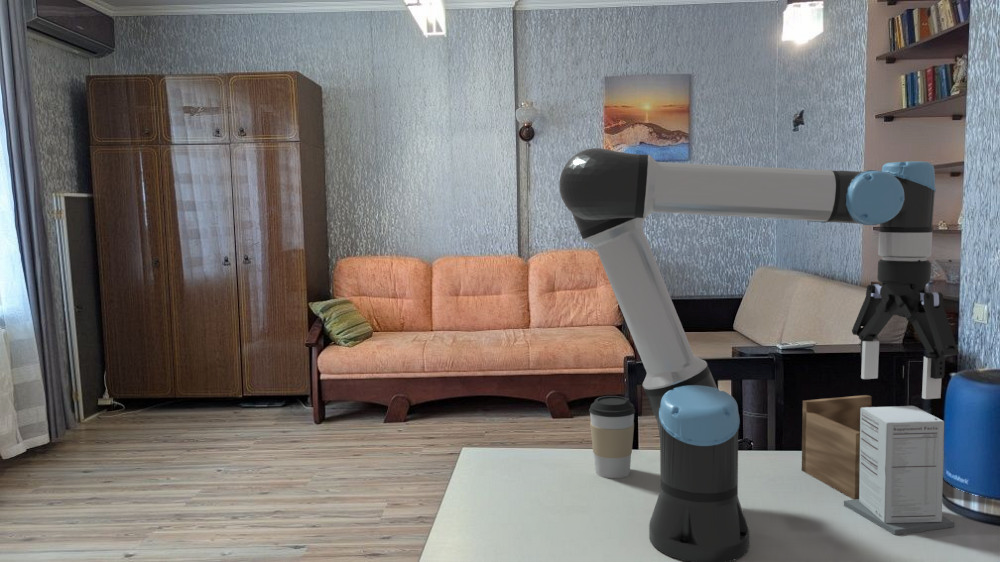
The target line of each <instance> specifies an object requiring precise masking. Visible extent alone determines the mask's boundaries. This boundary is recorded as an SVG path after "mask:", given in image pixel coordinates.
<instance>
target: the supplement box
mask: <svg viewBox="0 0 1000 562" xmlns="http://www.w3.org/2000/svg"><path fill="white" fill-rule="evenodd" d="M944 434H945V421H944V419H943V420H942V419H940V418H939V417H937V416H935V415H934V414H933V415H932V414H931V413H929V412H927V411H925V410H923V409H921V408H919V407H918V406H915V405H904V406H903V405H900V406H896V405H895V406H872V407H864V408H861V410H860V483H859V502H861V503H862V504H863V505H864V506H865V507H866V508H867V509H869V510H870V511H871V512H872V513H873V514H874V515H876V516H877V517H878V518H879V519H880V520H881V521H883V522H884V523H918V522H942V516H943V487H944V485H943V481H944V441H945V439H944V438H945V435H944Z"/></svg>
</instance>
